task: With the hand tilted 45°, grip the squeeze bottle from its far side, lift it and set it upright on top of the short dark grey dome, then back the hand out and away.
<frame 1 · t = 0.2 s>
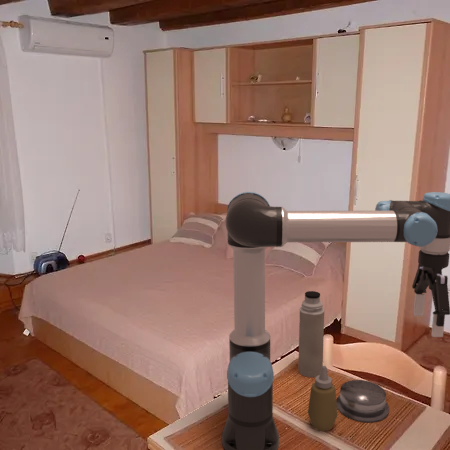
hand: (427, 325, 135), 28 cm above the table, tool pointing down, fingers open, 13 cm apart
squeeze bottle: (322, 425, 137), on the table
thermos bottle: (310, 371, 166), on the table
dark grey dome: (362, 406, 145), on the table
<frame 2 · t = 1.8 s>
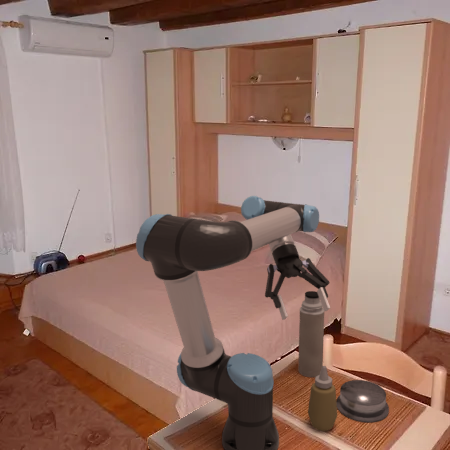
hand: (306, 313, 140), 29 cm above the table, tool tilted 45°, fingers open, 13 cm apart
nothing on the table moved.
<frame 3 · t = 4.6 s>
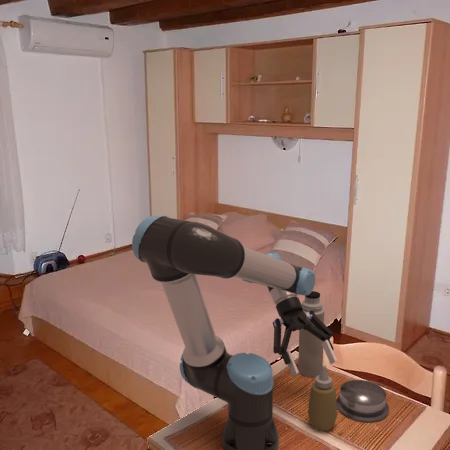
hand: (315, 368, 140), 14 cm above the table, tool tilted 45°, fingers open, 13 cm apart
nothing on the table moved.
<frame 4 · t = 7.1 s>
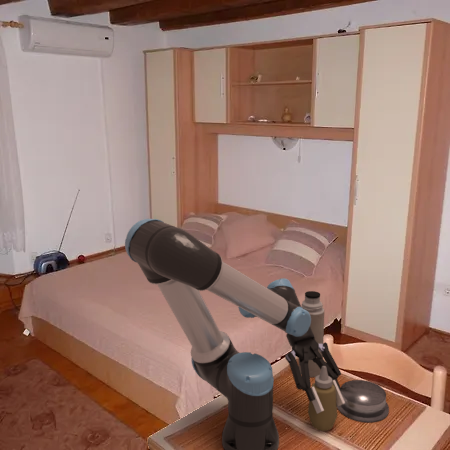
hand: (331, 408, 133), 7 cm above the table, tool tilted 45°, fingers closed on squeeze bottle, 6 cm apart
squeeze bottle: (322, 425, 137), on the table, touching gripper
everything else where it was.
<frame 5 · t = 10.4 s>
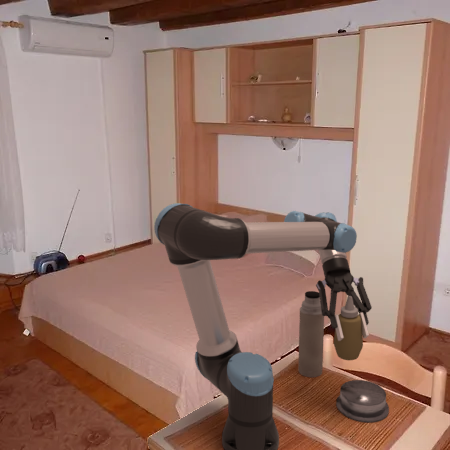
hand: (353, 337, 133), 25 cm above the table, tool tilted 45°, fingers closed on squeeze bottle, 6 cm apart
squeeze bottle: (347, 356, 139), point 18 cm above the table, touching gripper
everything else where it was.
when the fingers open (14 cm above the table, at t = 13.6 s): squeeze bottle drops 1 cm, resting on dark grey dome.
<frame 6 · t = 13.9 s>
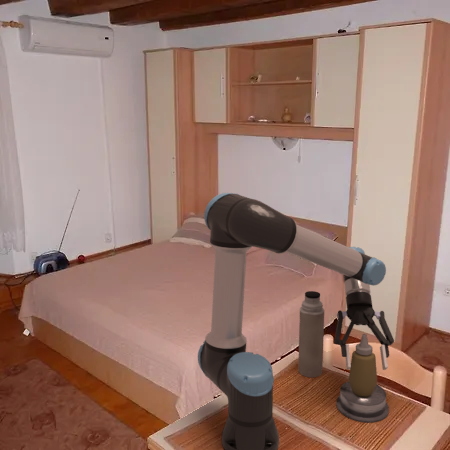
hand: (367, 368, 139), 14 cm above the table, tool tilted 45°, fingers open, 9 cm apart
squeeze bottle: (362, 392, 144), point 5 cm above the table, touching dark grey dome
everything else where it was.
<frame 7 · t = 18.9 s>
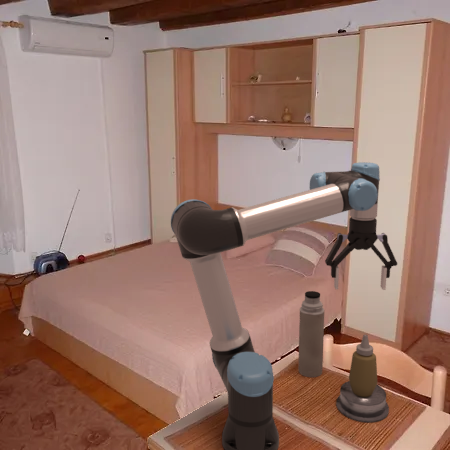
hand: (359, 288, 144), 35 cm above the table, tool pointing down, fingers open, 13 cm apart
nothing on the table moved.
at the end: squeeze bottle 0.2 cm off-centre on the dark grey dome, point 4.8 cm above the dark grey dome's base; squeeze bottle tilted 0°; the gripper is holding nothing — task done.
